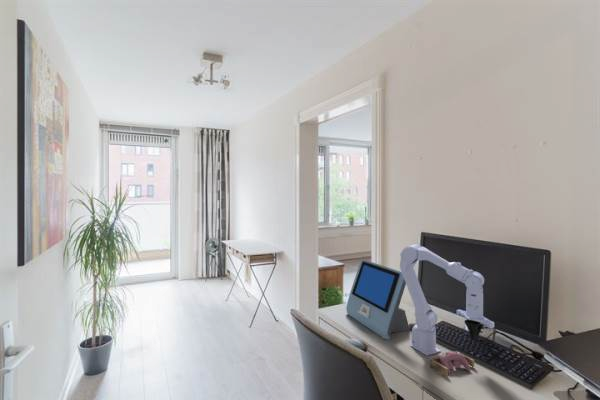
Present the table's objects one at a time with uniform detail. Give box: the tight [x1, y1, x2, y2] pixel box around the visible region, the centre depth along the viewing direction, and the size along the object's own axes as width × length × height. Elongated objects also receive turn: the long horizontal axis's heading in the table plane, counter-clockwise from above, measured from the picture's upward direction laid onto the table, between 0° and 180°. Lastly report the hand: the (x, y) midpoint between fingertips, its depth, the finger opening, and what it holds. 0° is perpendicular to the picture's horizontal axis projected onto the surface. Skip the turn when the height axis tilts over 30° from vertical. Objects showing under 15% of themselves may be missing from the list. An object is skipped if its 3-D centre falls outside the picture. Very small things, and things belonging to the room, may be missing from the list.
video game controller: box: [439, 351, 471, 375], centre depth 119 cm, size 10×5×7 cm, turn 100°
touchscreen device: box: [345, 259, 410, 341], centre depth 160 cm, size 35×20×30 cm, turn 22°
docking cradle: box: [429, 351, 475, 378], centre depth 119 cm, size 7×15×3 cm, turn 115°
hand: (474, 339), depth 122 cm, fingers closed
